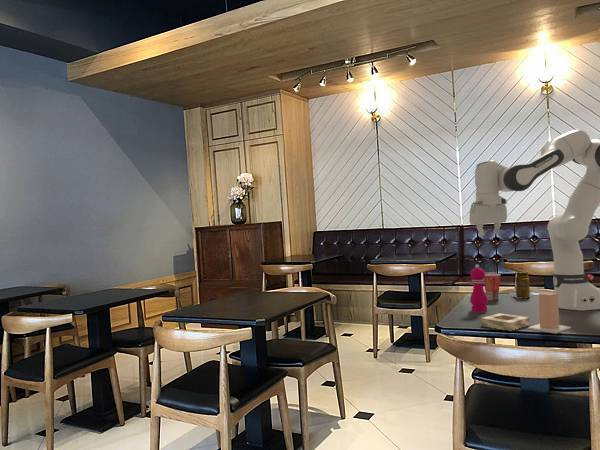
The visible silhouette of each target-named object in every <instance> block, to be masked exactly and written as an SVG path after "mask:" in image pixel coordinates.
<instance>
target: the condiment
mask: <svg viewBox="0 0 600 450" xmlns="http://www.w3.org/2000/svg"><path fill="white" fill-rule="evenodd" d="M515 274H516V275H515V296H517V297H522V298H526V297H530V296H531V289H530V288H531V287H530V286H531V285H530V278H529V272H527V271H516V273H515ZM530 298H531V297H530Z"/></svg>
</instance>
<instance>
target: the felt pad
mask: <svg viewBox="0 0 600 450" xmlns="http://www.w3.org/2000/svg"><path fill="white" fill-rule="evenodd" d="M527 329H528V330H533V331H538V332H544V333H551V334H559V333H561V332H565V331H567V330H571V329H572V327H571V326H569V325H560V324H559V327H557V328H554V329H549V328H543V327H540V323H538V324H535V325H531V326H527Z"/></svg>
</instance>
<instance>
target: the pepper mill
mask: <svg viewBox="0 0 600 450" xmlns="http://www.w3.org/2000/svg"><path fill="white" fill-rule="evenodd" d="M474 267H475V268H473V269H471V270H470V272H469V273H470V275H469V276H470V277H471V283H472V285H473V287H472V293H471V295H470V299H469V302H470V303H471V305H472V306H471V311H472V312H475V313H484V312H488V306H487V305H488V303H489V300H488V298H487V296H486V291H485V290H484V289H485V288H484V279H483V278H484V277H485V274H486V272H485V270H484V269H483V268H480V264H477V263H476V264H475V266H474Z"/></svg>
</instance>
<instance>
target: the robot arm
mask: <svg viewBox="0 0 600 450" xmlns="http://www.w3.org/2000/svg"><path fill="white" fill-rule="evenodd" d="M571 161H572V162H573V163H575V164H577V165H583V166H586V171H585V174H584V175H583V176H582V178H581V179H580V181H579V182H578V184H577V185H576V187H575V188H574V190H573V192H572V193H571V195H570V197H569V198H568V202H567V205H566V208H565V210H564V213H563V214H560V215H557V216H554V217H552V218H551V219H550V220H549V222H548V223H547V226H546V227H547V228H546V229H547V232H548V234H549V236H548V237H549V240H550V245H551V250H552V254H553V256H552V257H553V268H554V269H553V270H554V272H553V278H552V280H553V286H554V289H553V290H554V291H553V293H558V309H561V310H570V311H571V310H572V311H578V312H579V311H592V310H593V311H594V310H600V288H599V287H597V286H595V285H593V284H592V283H590V282H589V280H590V281H593V279H594V278H595V277H594V275H592V274H586V273H585V272H584V270H585V269H584V255H583V251H582V250H581V246H580V243H579V241H581V240H584V239H585V238H586V237H587V235H588V233H589V231H590V229H589V227H590V226H591V225H590V224H591V222H592V220H593V217H594V215H595V213H596V210H597V209H598V208H599V205H600V139H598V138H597V139H591V138H590V135H589V134H588V133H587V132H586V131H584V130H582V129H574V130H571V131H568V132H565V133H563V134H561V135H559V136H557V137H555V138H553V139H551V140H550V141H548V142H546V143H545V144H544V145H543V146H542V147H541V150H540V156H539V157H537V158H536V159H534V160H532V161H531V162H529V163H527V164H525V163H524V164H517V165H516V164H515V165H513V166H510V167H508V166H504V165H502V164H500V163H498V162H497V161H496V160H493V159H491V160H485V161H483V162H480V163H478V164H476V166H475V171H474V185H475V201H473V202H471V204H470V209H469V224H470V225H471V226H476V229H477V232H478V236H479V237H484V236H485V235H486V231H484V229H483V227H484V225H487V224H488V225H490V224H493V226H494V229H493V230H492V232H493V233H492V234H493V235H499V234H500V228H501V227H502V225H501V223H506V222H507V219H508V210H507V209H508V208H507V204H508V202H507V199H506V198H505V197H503V196H501V195H500V192H503V193H504V192H505V193H507V192H509V193H510V192H524V191H527V190H528V189H529V188H530V187H531V186H532V185H533V183H534V182H535V181H536V179H538V178H539V177H541V176H542V175H544V174H545V173H547V172H549V171H551V170H552V169H554V168H558V167H561V166H563V165H565V164H568V163H569V162H571Z"/></svg>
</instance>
